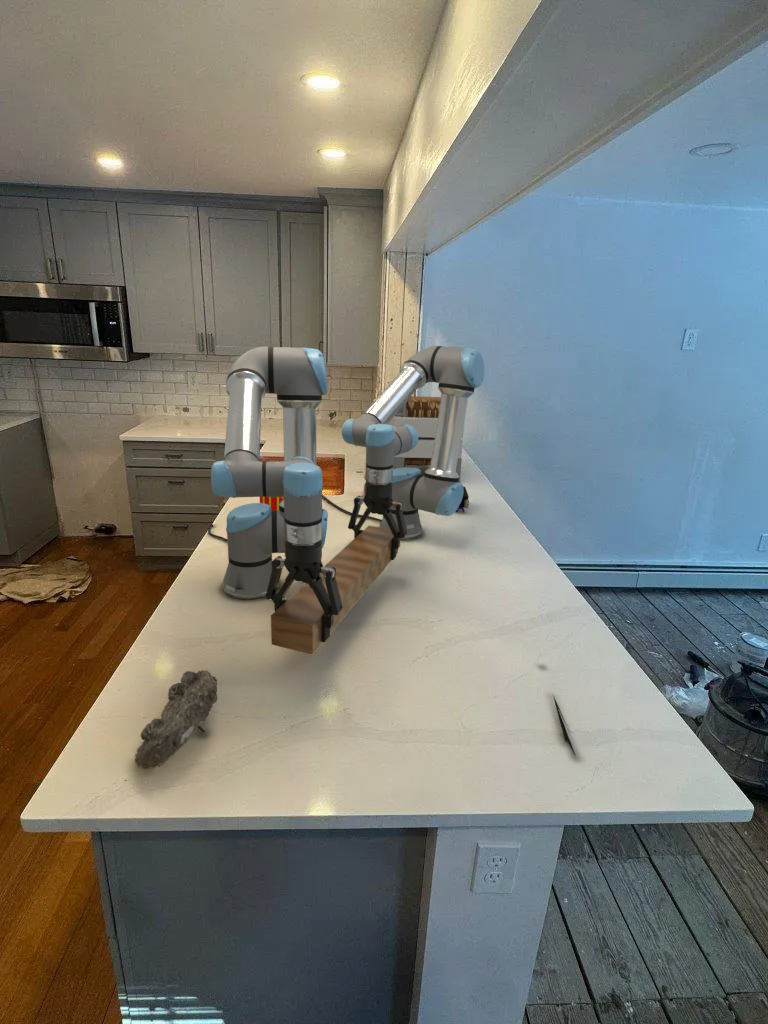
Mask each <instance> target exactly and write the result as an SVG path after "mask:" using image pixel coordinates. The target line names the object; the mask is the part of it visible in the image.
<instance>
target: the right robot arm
mask: <svg viewBox="0 0 768 1024" xmlns="http://www.w3.org/2000/svg"><path fill="white" fill-rule="evenodd" d="M484 377H485V363H484V358H483V356H482V354H481V352H480V351H479V350H477V349H475V348H468V347H460V346H459V347H458V346H443V345H432V346H428V347H425V348H423V349H421V350H419V351H417V352H416V353H414V354H413V355H411V356H410V357H409V358H408V359H407V360H406V361H405V362H403V364H402V365H401V367H400V369H399V372H398V374H397V375H396V376H395V378H393V380H392V381H390V383H389V384H388V385H387V386H386V387H385V388H384V389H383V391H382V392H381V393H380V394H379V395H378V396H377V398H376V399H374V401H373V402H372V403H371V405H369V406H368V408H366V410H365V411H364V412H363V413H362V414H361V415H360V417H358V418H349V419H346V420H345V421H344V422H343V424H342V427H341V436H342V439H343V441H344V442H345V443H346V444H349V445H351V446H356V447H361V448H362V447H363V448H365V473H364V476H365V478H364V480H365V479H366V481H365V483H364V485H365V497H363V496H361V495H357V496H356V497H354V498H353V509H352V512H350V511H349V510H347V509H344V508H342V507H340V506H339V505H337V504H336V503H334V502H333V501H331V500H330V499H328V498H327V497H326V496H325V495H323V494H322V499H324V501H326V502H327V503H329V504H330V505H332V506H333V507H334V508H336V509H338V510H339V511H341V512H343V513H346V515H350V518H349V521H348V525H347V529H348V530H352V531H353V536H354V537H353V539H355V538H356V537H357V536H358V535H359V534H360V533H361V532H362V531H363V530H364V529H362V527H363V525H364V524H365V523H366V521H367V520H372V521H376V522H379V525H378V527H380V528H386V529H390V530H391V532H392V534H393V536H394V537H393V538H392V544H391V560H392V561H394V560H395V559H396V558H397V555H396V552H397V549H398V550H399V549H400V547H401V541H410V540H415V539H418V538H420V537H421V536H422V535H423V525H422V524H421V518H420V515H419V510H420V511H423V512H426V513H431V514H435V515H436V516H443V517H450V516H452V515H453V514H454V513H456V510H457V511H458V507H459V505H460V503H461V501H462V497H463V493H464V490H463V486H464V485H463V484H462V483H461V482H459V475H458V474H457V472H456V467H457V461H458V455H459V449H460V443H461V440H462V438H461V437H462V431H463V426H464V427H465V421H464V420H465V419H466V414H467V408H468V403H469V401H468V400H469V398H470V397H471V396H472V395H474V393H475V389H476V388H477V389H478V388H479V387H480V386H482V384H483V381H484ZM429 383H436V384H438V387H437V390H438V391H439V392H440V393H441V394H442V397H441V396H440V397H441V403H440V409H439V415H438V421H437V428H436V434H435V440H434V446H433V452H432V458H431V465H430V466H428V468H427V469H426V470H424V474H422V470H421V468H419V467H404V468H398V469H394V470H393V458H394V456H396V455H399V454H402V453H405V452H408V451H410V450H411V449H413V448H414V447H415V446H416V445H417V443H418V434H417V431H416V430H415V428H414V427H412V426H410V425H400V426H392V425H387V424H388V422H389V421H390V420H391V419H392V418H393V417H394V415H395V414H396V413H397V412H398V411H399V410H400V408H401V407H402V406H403V405H404V404H405V403H406V401H407V400H408V399H409V398H410V397H411V396H413V395H414V393H415V392H416V391H417V390H418V389H422V388H423V387H425V385H426V384H429ZM441 394H440V395H441ZM363 503H364V505H365V507H366V509H365V510H364V512H363V514H359V513H360V511H361V508H362V507H361V506H362V505H363ZM370 514H372V515H373V514H374V515H375V514H376V515H380V516H382V519H381V518H377V517H374V516H370ZM358 518H359V520H358V522H357V519H358Z"/></svg>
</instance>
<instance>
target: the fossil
mask: <svg viewBox="0 0 768 1024" xmlns="http://www.w3.org/2000/svg"><path fill="white" fill-rule="evenodd" d="M167 698H168V701H167V703H166V705H165V706H164V708H163V709H162V712H161V714H160V718H157V717H156V718H153V719H152V720H151V721H150V722H149V723H147V724H146V725H145V727H144V728H143V729H142V731H141V733H140V738H141V740H142V743H141V744H140V746H139V747H138V748H137V749H136V753H135V755H134V756H135V757H134V762H135V764H136V766H137V767H141V768H142V769H143V770H144V769H145V770H146V769H151V768H156V767H157V768H161V767H162V766H163V765H165V763H166V762H167V761H168V760H169V759H171V758H172V757H173V756H174V755H175V754H177V752H178V751H179V750H180V749H181V748H182V747H184V746H185V744H187V743H188V741H189V739H190V737H191V736H192V735H193V734H195V732H196V731H197V730H199V731H200V732H201V733H202V734H205V733H206V730H205V729H204V728H203V726H201V723H202V722H205V721H206V720H207V718H208V717H209V716H210V712H211V711H212V709H213V707H214V705H215V703H217V702H218V679H217V677H216V676H215V675H212V674H211V672H209V670H206V669H205V670H203V669H202V670H198V671H197V672H195V671H191V670H185V672H183V674H182V677H181V678H180V682H177V683H173V684H172V685H171V686H170V687H169V688H168V693H167Z"/></svg>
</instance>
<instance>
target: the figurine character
mask: <svg viewBox="0 0 768 1024" xmlns="http://www.w3.org/2000/svg"><path fill="white" fill-rule="evenodd" d="M463 490H464V493H463V497H462V501H461V503H460V505H459V507H458V509H457V510H456V511H455V513H458V510H461V511H462V513H465V509H469V506H470V500H469V498H470V496H469V494H468V491H467V488H466V486H464V485H463Z"/></svg>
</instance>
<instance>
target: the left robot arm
mask: <svg viewBox="0 0 768 1024" xmlns="http://www.w3.org/2000/svg"><path fill="white" fill-rule="evenodd" d="M225 381H226V382H225V390H226V393H227V395H228V407H227V417H226V427H225V429H226V430H225V439H224V451H223V452H224V453H223V460H219V461H218V460H217V461H214V462H213V463H212V465H211V470H210V479H211V480H210V482H211V483H210V484H211V491H212V493H213V495H214V496H215V497H219V498H232V499H236V498H260V497H284V499H283V500H282V501H281V502H280V503H279V510H271V508H270V506H269V505H268V504H262V503H260V502H251V503H246V504H242V505H239V506H237V507H234V508H233V509H231V510H230V511H229V512H228V514H227V515H226V528H225V531H226V537H227V538H225V537H223V536H220V535H217V534H213V533H212V532H211V529H212V528H213V527H214V524H213V523H211V524H210V525H209V526H208V528H207V533H208V535H209V536H211V537H213V538H216V539H219V540H222V541H225V542H226V543H227V557H228V563H227V567H226V570H225V572H224V576H223V579H222V589H223V592H224V593H225V594H226V595H227V596H229V597H232V598H234V599H239V600H255V599H262V598H265V599H266V600H271V601H272V602H273V605H274V606H273V607H274V612H275V611H276V610H277V609H278V608H280V607H281V606H282V605H283V604H284V603H285V602H286V601H287V600H288V599H285V596H286V595H287V593H288V591H290V588H291V586H292V585H293V584H294V582H302V583H304V584H306V583H307V584H309V586H310V588H312V589H313V591H314V593H315V595H316V597H317V599H318V601H319V603H320V605H321V607H322V609H323V611H324V613H323V615H322V642H323V644H325V643H326V642H327V641H328V640H329V638H330V637H331V634H330V628H331V627H332V626H333V624H334V615H338V614H339V613H340V611H341V610H342V609H343V605H342V601H341V598H340V594H339V590H338V586H337V582H336V578H335V577H336V568H335V567H331V568H327V567H324V564H323V562H322V557H323V548H324V546H325V543H326V538H327V531H328V518H329V516H328V515H329V512H328V510H327V509H325V508H323V498H322V495H323V487H324V482H323V471H322V468H321V467H320V466H319V465H317V408H318V406H319V405H321V404H322V403H323V396H326V395H327V394H328V378H327V370H326V363H325V358H324V355H323V353H322V351H321V350H319V349H317V348H311V347H291V346H288V347H284V346H283V347H281V346H258V347H254V348H252V349H250V350H248V351H246V352H245V353H243V354H242V355H240V356H239V357H238V358H237V359H236V360H235V361H234V362H233V364H232V366H231V367H230V368H229V371H228V373H227V375H226V380H225ZM266 394H273V395H276V402H277V403H278V404H279V405H280V406H281V407H282V419H283V421H282V423H283V424H282V426H283V460H282V461H281V460H280V461H276V460H275V461H273V460H272V461H268V460H267V461H266V460H265V461H263V460H261V461H260V457H261V429H262V427H261V426H262V425H261V424H262V423H261V422H262V399H264V397H265V396H266ZM273 554H284V557H285V558H283V557H282V556H281V555H278V556H276V557H275V558H274V559H273ZM284 568H285V569H286V570H287V572H288V574H287V575H286V577H285V579H284V581H283V582H282V584H281V586H280V580H281V576H282V572H283V569H284ZM320 573H322V574H323V576H324V577H323V578H324V579H325V582H326V587H327V591H328V593H327V591H326V589H325V587H324V585H323V583H322V578H321V576H320ZM314 580H315V581H314ZM277 591H278V592H277Z"/></svg>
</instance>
